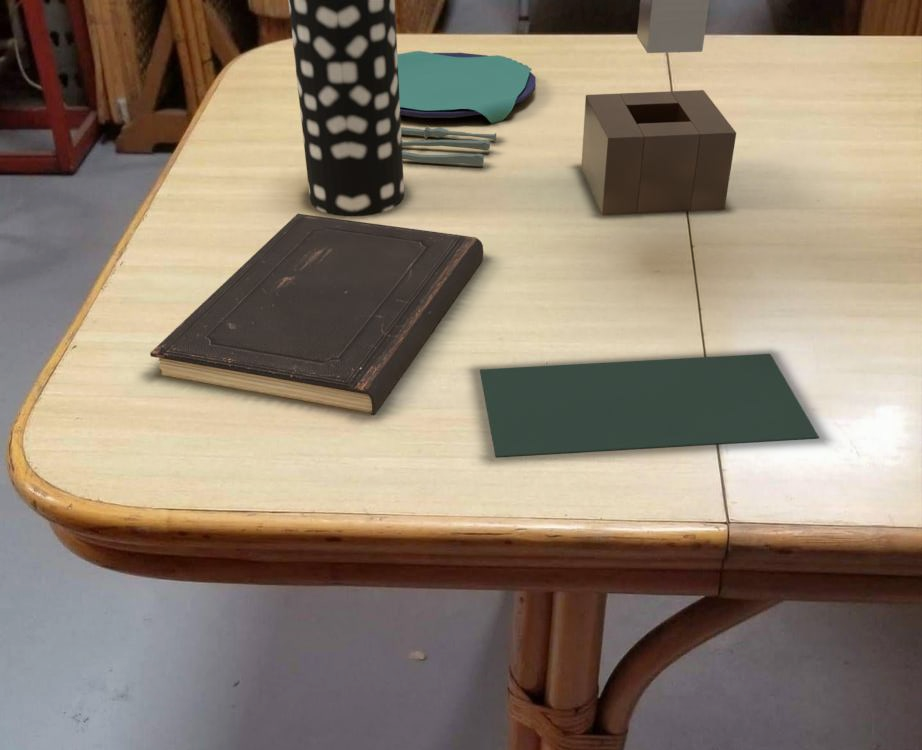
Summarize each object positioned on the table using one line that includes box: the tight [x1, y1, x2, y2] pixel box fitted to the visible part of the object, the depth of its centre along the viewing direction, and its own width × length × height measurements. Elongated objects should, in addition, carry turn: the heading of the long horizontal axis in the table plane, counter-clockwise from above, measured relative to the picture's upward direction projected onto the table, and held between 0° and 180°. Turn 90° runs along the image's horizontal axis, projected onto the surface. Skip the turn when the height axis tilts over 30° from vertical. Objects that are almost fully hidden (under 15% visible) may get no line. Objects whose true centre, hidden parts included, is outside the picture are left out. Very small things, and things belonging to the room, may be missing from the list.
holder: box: [580, 89, 737, 216], centre depth 93 cm, size 11×11×7 cm
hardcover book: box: [149, 213, 484, 416], centre depth 78 cm, size 16×23×2 cm
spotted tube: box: [287, 0, 405, 217], centre depth 88 cm, size 8×8×20 cm
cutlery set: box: [397, 50, 537, 167], centre depth 110 cm, size 20×30×2 cm, turn 168°
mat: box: [479, 353, 820, 459], centre depth 69 cm, size 20×10×1 cm, turn 95°
